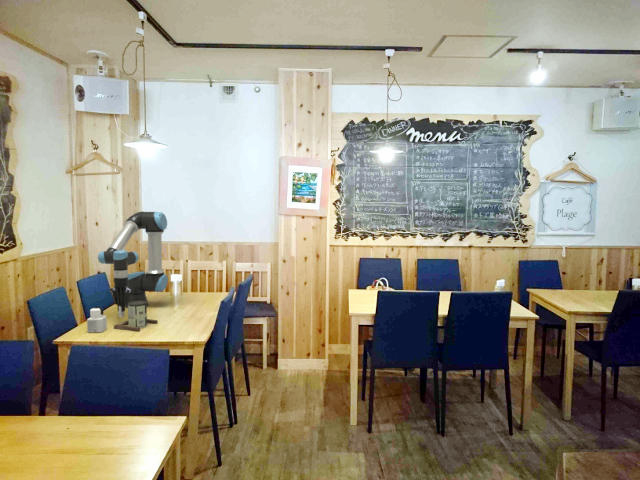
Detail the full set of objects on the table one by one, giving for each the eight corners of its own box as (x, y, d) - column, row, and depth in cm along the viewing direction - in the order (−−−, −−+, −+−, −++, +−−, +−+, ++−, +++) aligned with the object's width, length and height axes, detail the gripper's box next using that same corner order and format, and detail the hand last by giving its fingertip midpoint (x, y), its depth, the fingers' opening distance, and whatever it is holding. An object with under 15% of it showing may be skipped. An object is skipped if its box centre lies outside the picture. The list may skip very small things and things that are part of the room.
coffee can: (136, 322, 271) (136, 299, 269) (151, 324, 268) (150, 301, 266) (124, 327, 261) (123, 303, 260) (138, 329, 258) (138, 305, 256)
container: (93, 328, 258) (92, 306, 256) (107, 328, 258) (106, 306, 257) (87, 332, 250) (86, 309, 249) (101, 332, 251) (101, 309, 249)
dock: (134, 320, 275) (134, 317, 275) (157, 323, 271) (157, 320, 271) (113, 328, 258) (113, 325, 258) (137, 331, 254) (137, 328, 254)
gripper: (106, 277, 263) (107, 317, 265) (125, 278, 259) (126, 319, 261) (116, 275, 270) (116, 314, 272) (134, 276, 266) (135, 316, 269)
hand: (121, 316), depth 267 cm, fingers closed
